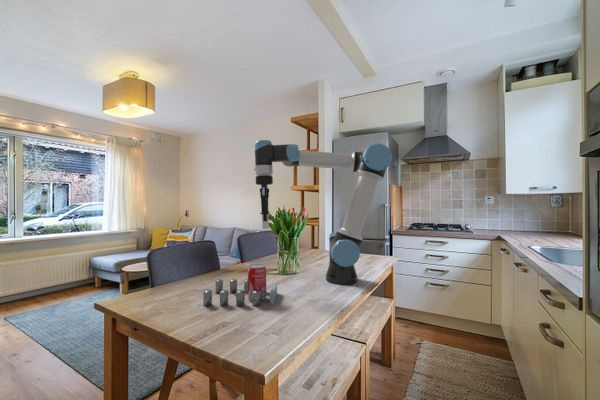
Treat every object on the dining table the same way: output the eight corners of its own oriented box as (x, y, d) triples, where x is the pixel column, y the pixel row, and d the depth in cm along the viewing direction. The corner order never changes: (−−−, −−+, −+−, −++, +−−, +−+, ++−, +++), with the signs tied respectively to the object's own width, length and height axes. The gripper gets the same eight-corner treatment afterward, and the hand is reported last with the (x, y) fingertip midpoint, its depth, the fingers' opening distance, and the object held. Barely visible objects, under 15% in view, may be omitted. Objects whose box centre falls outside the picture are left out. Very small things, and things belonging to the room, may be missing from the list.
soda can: (269, 297, 107) (269, 264, 107) (260, 303, 100) (260, 268, 100) (254, 294, 110) (254, 262, 110) (244, 300, 103) (244, 266, 103)
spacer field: (266, 291, 114) (266, 279, 114) (260, 306, 97) (260, 292, 97) (216, 291, 114) (216, 279, 114) (202, 306, 97) (202, 292, 97)
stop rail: (276, 293, 112) (276, 283, 112) (274, 304, 100) (274, 293, 100) (273, 293, 112) (273, 283, 112) (269, 304, 100) (270, 293, 100)
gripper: (257, 177, 126) (258, 227, 126) (253, 174, 113) (255, 230, 113) (273, 176, 127) (274, 227, 127) (271, 173, 114) (273, 229, 114)
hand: (265, 228), depth 120 cm, fingers closed
